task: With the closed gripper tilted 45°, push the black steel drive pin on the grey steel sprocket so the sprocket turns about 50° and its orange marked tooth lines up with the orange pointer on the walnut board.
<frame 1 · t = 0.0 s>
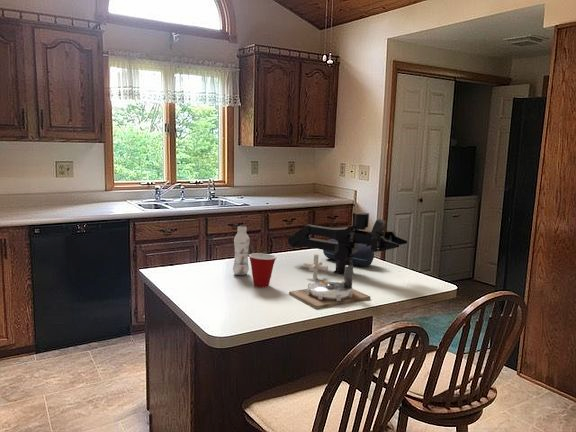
hand: (403, 243, 192), 17 cm above the countertop, fingers open, 9 cm apart
portable speaker: (348, 263, 226), on the countertop
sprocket: (330, 279, 174), point 6 cm above the countertop, hinge at 0.0°
base board: (329, 296, 175), on the countertop
plastic cup: (261, 285, 185), on the countertop
pipe connector: (314, 278, 197), on the countertop
plastic bottle: (240, 275, 198), on the countertop
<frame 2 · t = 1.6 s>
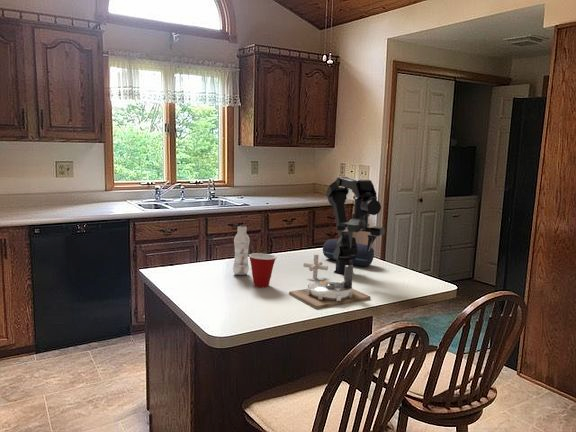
hand: (359, 249, 194), 13 cm above the countertop, fingers open, 8 cm apart
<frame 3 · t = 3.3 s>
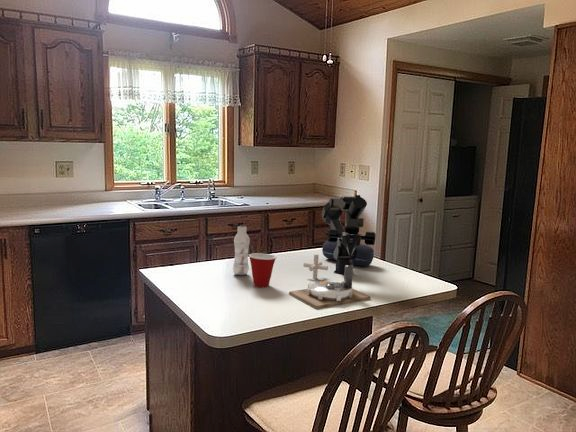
hand: (350, 255, 187), 12 cm above the countertop, fingers closed
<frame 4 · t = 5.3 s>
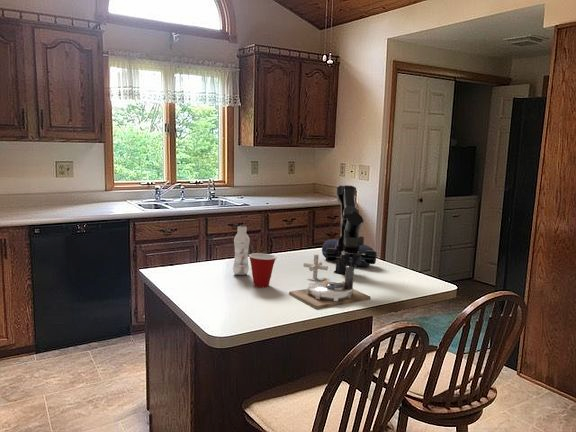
hand: (350, 275, 176), 7 cm above the countertop, fingers closed, pressing on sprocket
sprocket: (330, 279, 174), point 6 cm above the countertop, hinge at -7.1°, touching gripper
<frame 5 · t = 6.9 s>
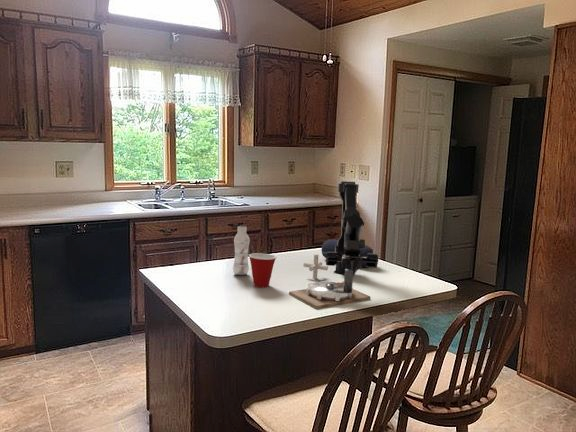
hand: (351, 280, 171), 7 cm above the countertop, fingers closed, pressing on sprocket
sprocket: (330, 279, 174), point 6 cm above the countertop, hinge at -48.2°, touching gripper
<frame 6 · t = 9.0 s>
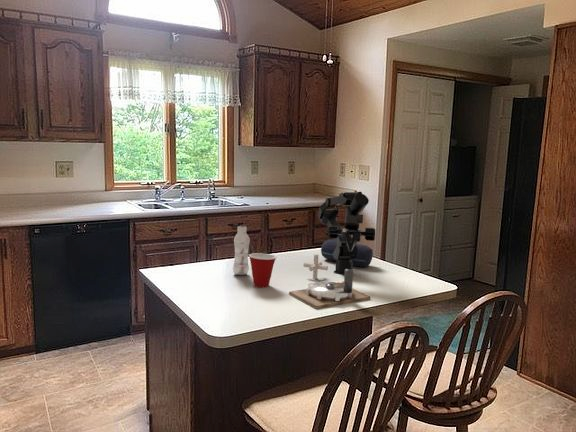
hand: (350, 251, 189), 13 cm above the countertop, fingers closed
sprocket: (330, 279, 174), point 6 cm above the countertop, hinge at -48.2°
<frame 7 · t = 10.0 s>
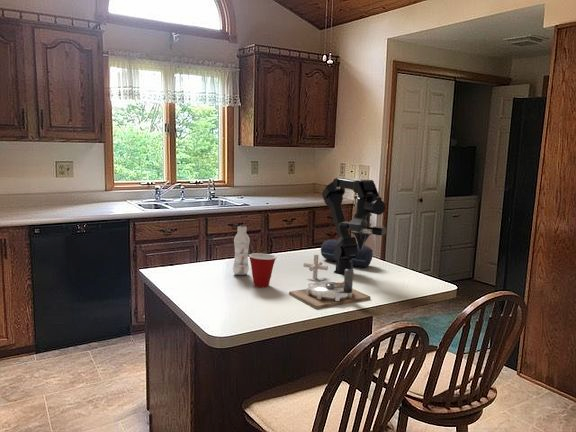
hand: (360, 249, 196), 13 cm above the countertop, fingers closed
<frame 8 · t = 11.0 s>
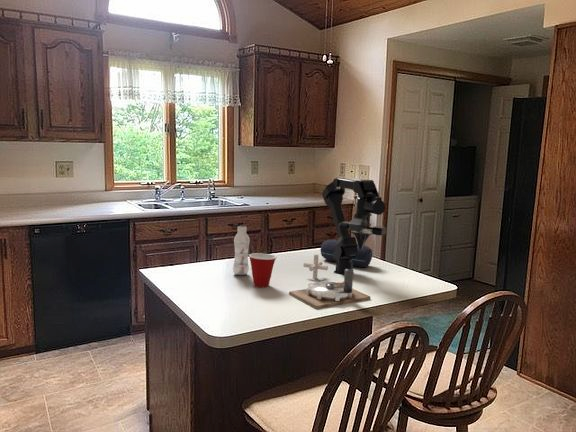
hand: (360, 249, 196), 13 cm above the countertop, fingers closed
at the end: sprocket at -48° (first picture: +0°) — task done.
